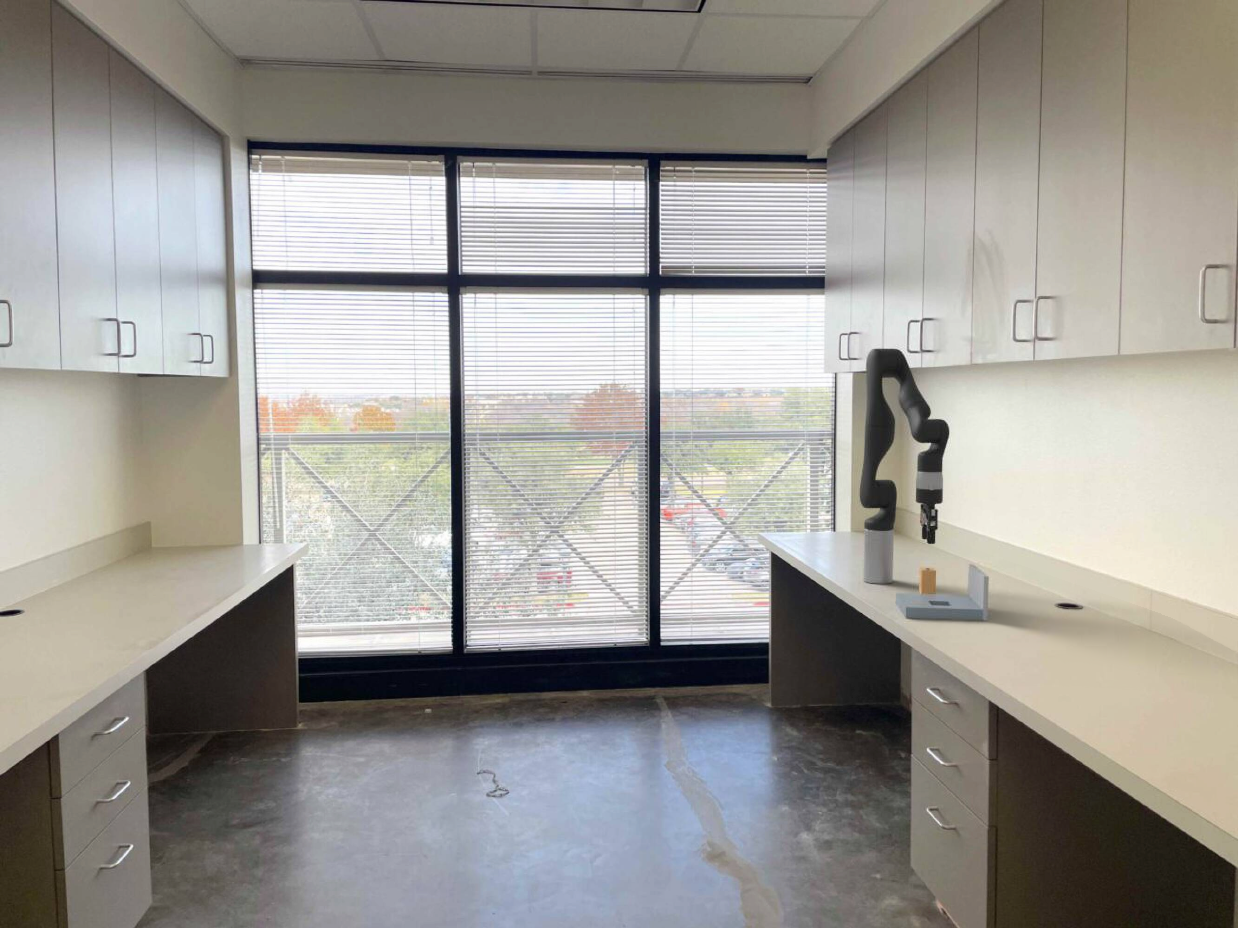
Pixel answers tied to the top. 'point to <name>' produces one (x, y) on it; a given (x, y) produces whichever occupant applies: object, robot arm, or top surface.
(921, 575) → the block
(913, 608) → the grey slotted stand
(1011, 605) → the top surface
